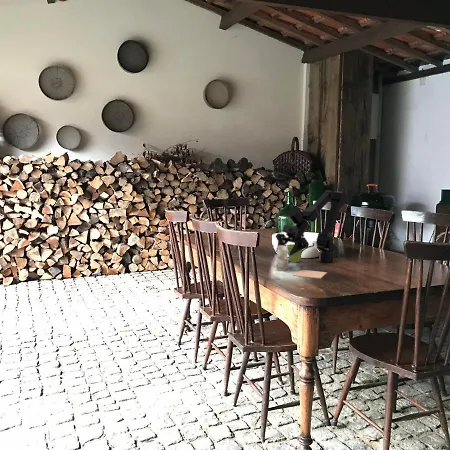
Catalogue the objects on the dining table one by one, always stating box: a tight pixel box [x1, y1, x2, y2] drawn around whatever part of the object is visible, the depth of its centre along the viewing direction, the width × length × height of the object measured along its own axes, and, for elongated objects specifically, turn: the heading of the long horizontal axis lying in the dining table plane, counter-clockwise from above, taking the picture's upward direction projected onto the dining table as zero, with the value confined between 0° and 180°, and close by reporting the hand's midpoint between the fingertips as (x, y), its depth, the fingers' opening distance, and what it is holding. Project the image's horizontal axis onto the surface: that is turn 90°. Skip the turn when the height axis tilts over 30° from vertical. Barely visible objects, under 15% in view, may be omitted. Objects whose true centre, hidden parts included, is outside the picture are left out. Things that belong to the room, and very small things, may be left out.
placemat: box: [292, 269, 328, 280], centre depth 233 cm, size 13×13×1 cm
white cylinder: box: [276, 244, 289, 272], centre depth 241 cm, size 5×5×12 cm
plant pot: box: [285, 243, 304, 263], centre depth 263 cm, size 9×9×9 cm
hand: (283, 253), depth 241 cm, fingers open, 9 cm apart
